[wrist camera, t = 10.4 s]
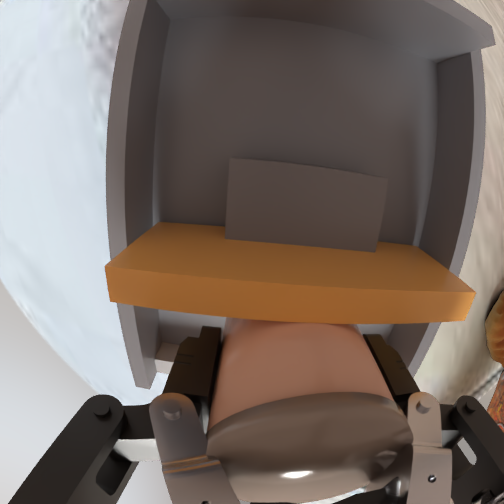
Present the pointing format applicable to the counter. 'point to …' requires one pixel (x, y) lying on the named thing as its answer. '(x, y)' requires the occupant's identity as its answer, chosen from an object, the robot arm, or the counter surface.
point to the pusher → (290, 256)
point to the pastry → (496, 330)
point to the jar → (300, 411)
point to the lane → (294, 127)
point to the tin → (498, 404)
